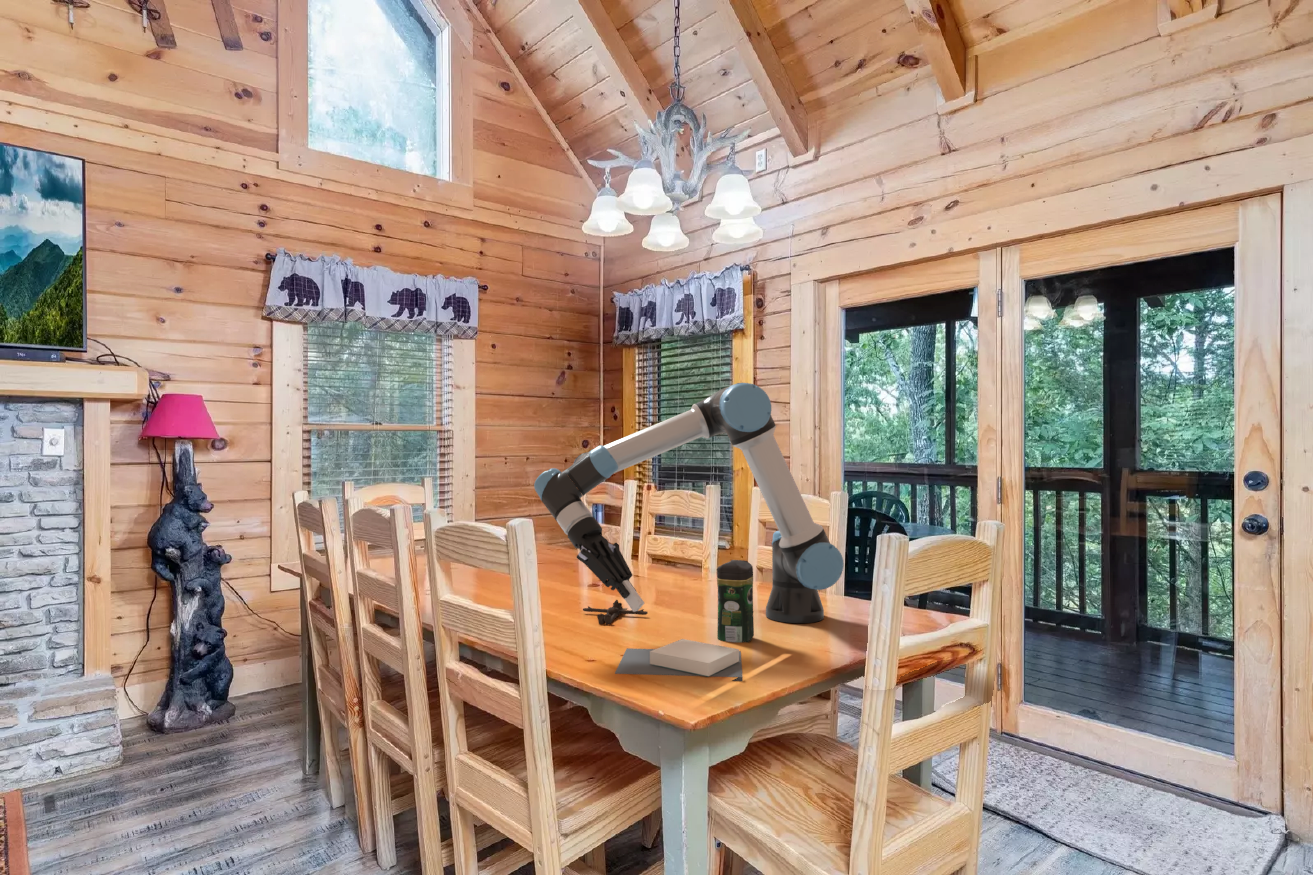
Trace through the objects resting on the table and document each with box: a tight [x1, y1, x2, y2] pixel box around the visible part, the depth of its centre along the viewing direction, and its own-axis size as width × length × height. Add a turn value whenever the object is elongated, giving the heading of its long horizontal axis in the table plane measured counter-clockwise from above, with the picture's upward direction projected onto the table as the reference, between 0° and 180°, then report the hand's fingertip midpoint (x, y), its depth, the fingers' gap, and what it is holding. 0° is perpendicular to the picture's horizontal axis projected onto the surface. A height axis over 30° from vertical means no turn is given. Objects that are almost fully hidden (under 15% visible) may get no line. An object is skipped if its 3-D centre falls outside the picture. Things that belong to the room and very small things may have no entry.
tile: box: [650, 638, 740, 678], centre depth 153 cm, size 3×12×14 cm
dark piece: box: [582, 599, 648, 625], centre depth 197 cm, size 18×4×14 cm
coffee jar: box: [716, 559, 755, 644], centre depth 175 cm, size 10×8×19 cm
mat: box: [614, 647, 744, 682], centre depth 155 cm, size 25×18×1 cm
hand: (639, 607), depth 162 cm, fingers closed
